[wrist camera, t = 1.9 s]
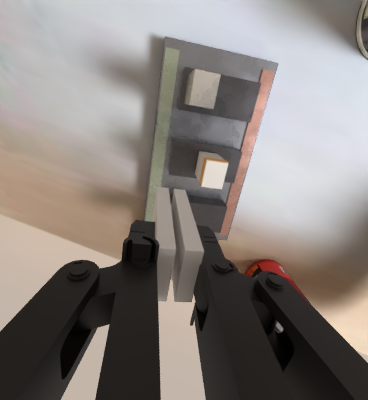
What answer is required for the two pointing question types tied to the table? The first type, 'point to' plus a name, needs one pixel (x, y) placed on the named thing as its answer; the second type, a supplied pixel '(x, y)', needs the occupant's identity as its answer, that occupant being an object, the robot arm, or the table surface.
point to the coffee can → (363, 28)
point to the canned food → (273, 267)
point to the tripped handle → (211, 170)
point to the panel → (206, 126)
